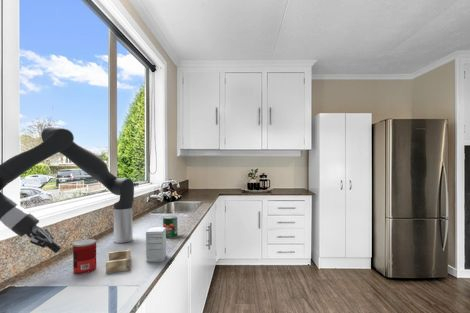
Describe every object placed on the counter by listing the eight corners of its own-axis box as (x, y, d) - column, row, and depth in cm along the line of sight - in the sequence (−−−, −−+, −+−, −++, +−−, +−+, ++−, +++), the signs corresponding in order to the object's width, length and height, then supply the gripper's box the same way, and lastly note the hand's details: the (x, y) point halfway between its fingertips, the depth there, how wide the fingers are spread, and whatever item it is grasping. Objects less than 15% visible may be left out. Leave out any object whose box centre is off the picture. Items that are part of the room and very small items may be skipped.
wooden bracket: (105, 273, 104) (105, 262, 104) (109, 261, 116) (109, 252, 116) (130, 269, 107) (129, 259, 107) (130, 258, 119) (130, 249, 119)
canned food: (100, 267, 110) (100, 239, 110) (84, 275, 103) (83, 245, 103) (86, 265, 113) (85, 238, 113) (68, 273, 105) (68, 244, 105)
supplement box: (149, 256, 122) (149, 227, 122) (166, 255, 123) (166, 226, 123) (145, 262, 115) (145, 231, 115) (163, 261, 116) (163, 231, 116)
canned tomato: (163, 239, 149) (162, 218, 149) (163, 235, 156) (162, 215, 156) (178, 237, 151) (177, 217, 151) (177, 234, 158) (177, 214, 158)
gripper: (21, 216, 96) (62, 247, 99) (34, 210, 108) (70, 238, 112) (2, 233, 94) (45, 264, 98) (18, 225, 106) (55, 253, 110)
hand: (58, 250), depth 105 cm, fingers closed
